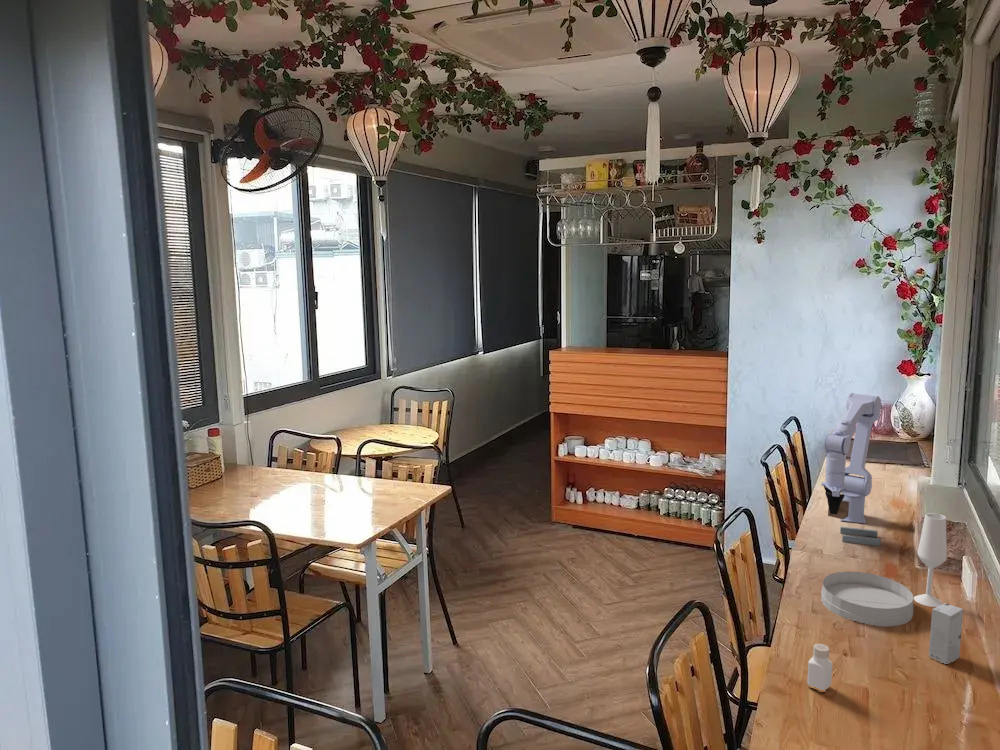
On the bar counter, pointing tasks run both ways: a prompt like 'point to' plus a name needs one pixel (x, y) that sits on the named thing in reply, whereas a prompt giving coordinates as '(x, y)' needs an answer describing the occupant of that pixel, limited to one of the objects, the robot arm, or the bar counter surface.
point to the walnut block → (841, 510)
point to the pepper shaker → (820, 668)
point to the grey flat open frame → (868, 539)
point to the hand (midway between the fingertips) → (832, 510)
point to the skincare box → (945, 633)
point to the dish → (867, 598)
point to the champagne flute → (932, 552)
